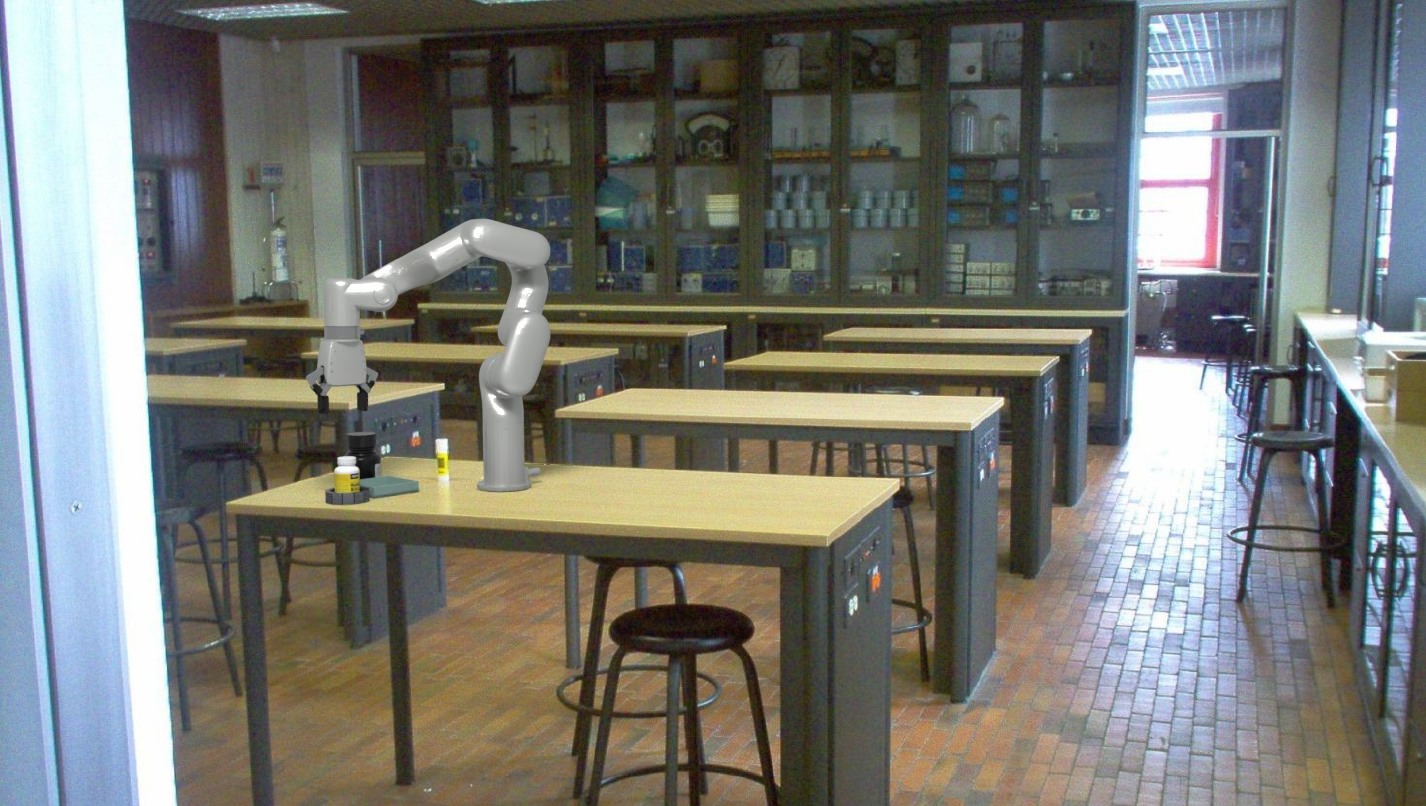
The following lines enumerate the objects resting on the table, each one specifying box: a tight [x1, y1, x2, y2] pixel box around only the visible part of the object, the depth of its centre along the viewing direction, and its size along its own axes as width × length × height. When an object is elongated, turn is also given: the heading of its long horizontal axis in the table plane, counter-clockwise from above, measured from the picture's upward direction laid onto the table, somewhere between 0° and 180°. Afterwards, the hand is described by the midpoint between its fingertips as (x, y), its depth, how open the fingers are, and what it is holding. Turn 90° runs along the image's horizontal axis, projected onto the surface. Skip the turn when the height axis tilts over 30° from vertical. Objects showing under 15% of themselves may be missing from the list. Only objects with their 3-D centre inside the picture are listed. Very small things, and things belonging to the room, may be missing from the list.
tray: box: [360, 475, 420, 500], centre depth 305 cm, size 12×12×2 cm
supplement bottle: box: [333, 456, 360, 493], centre depth 293 cm, size 5×5×10 cm
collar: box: [324, 486, 371, 506], centre depth 293 cm, size 9×9×2 cm
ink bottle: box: [343, 431, 383, 479], centre depth 316 cm, size 10×9×12 cm
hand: (343, 412), depth 291 cm, fingers open, 9 cm apart
